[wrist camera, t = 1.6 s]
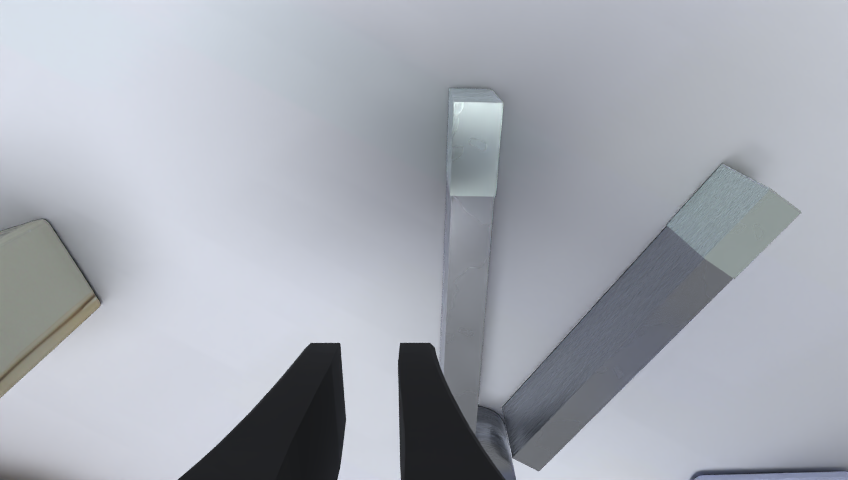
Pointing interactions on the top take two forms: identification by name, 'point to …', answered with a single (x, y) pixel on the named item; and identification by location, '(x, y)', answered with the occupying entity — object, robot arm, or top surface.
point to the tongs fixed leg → (636, 317)
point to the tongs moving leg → (468, 238)
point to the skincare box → (37, 298)
